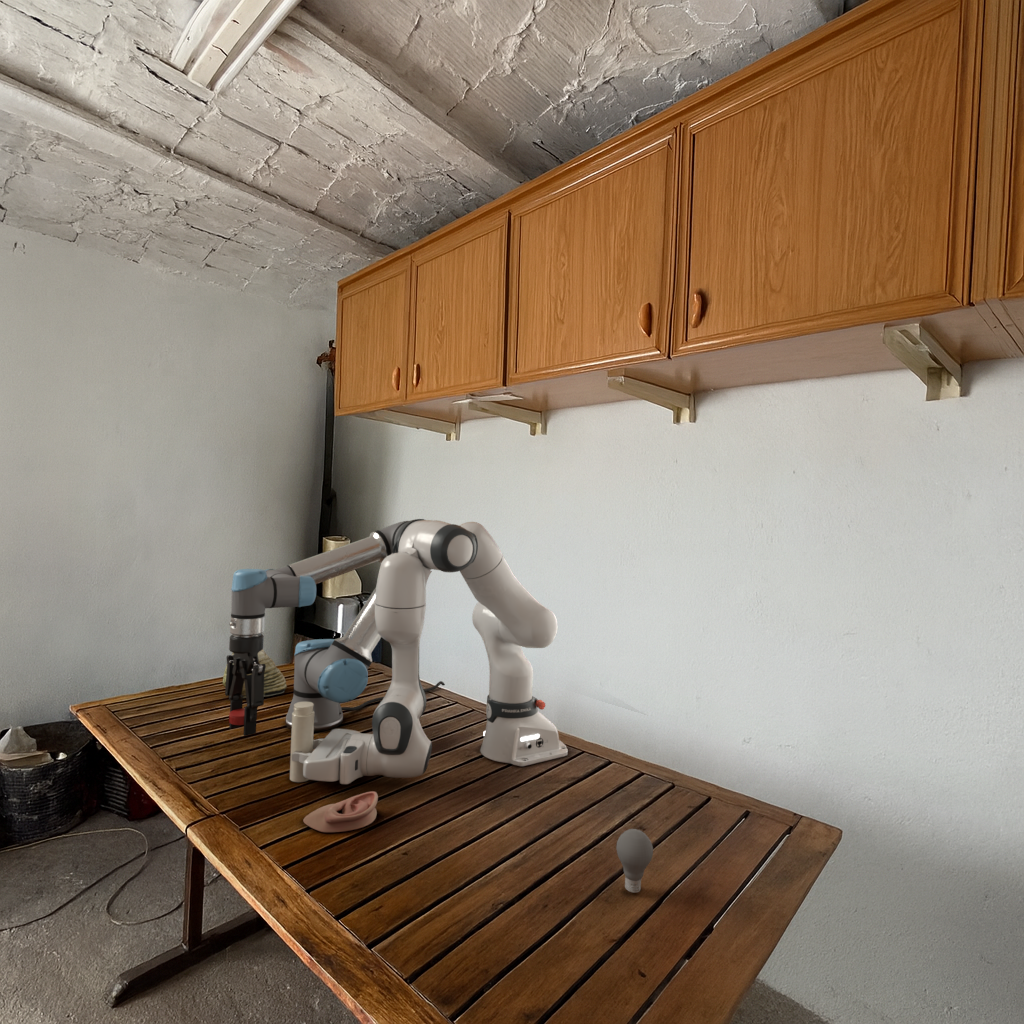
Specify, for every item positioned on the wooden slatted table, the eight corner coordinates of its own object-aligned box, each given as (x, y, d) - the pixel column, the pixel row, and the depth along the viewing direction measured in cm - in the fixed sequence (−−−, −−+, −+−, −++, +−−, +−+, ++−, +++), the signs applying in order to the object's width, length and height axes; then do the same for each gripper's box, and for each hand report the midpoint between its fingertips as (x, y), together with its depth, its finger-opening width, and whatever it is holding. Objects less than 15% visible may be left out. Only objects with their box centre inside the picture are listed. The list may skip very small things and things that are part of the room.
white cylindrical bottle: (291, 783, 139) (293, 708, 139) (288, 774, 143) (290, 702, 143) (313, 780, 141) (316, 706, 141) (310, 771, 146) (312, 700, 145)
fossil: (218, 695, 195) (220, 647, 195) (278, 685, 208) (279, 640, 207) (228, 703, 189) (230, 653, 188) (289, 692, 201) (290, 645, 201)
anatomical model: (295, 807, 120) (325, 781, 132) (294, 828, 121) (324, 800, 132) (360, 817, 118) (384, 790, 129) (359, 838, 118) (384, 809, 129)
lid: (261, 720, 153) (261, 711, 153) (240, 727, 147) (240, 718, 147) (244, 715, 155) (244, 706, 155) (223, 721, 150) (223, 713, 150)
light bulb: (610, 879, 108) (613, 822, 108) (644, 879, 109) (647, 822, 109) (619, 902, 102) (622, 840, 102) (655, 901, 103) (658, 840, 103)
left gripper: (212, 629, 154) (207, 724, 154) (253, 643, 142) (248, 745, 143) (241, 626, 160) (237, 717, 160) (283, 638, 148) (278, 737, 149)
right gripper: (371, 723, 152) (314, 720, 153) (345, 758, 132) (280, 754, 132) (370, 749, 152) (313, 746, 153) (344, 788, 132) (279, 784, 132)
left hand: (242, 730), depth 151 cm, fingers closed on lid, 6 cm apart
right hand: (297, 750), depth 142 cm, fingers closed on white cylindrical bottle, 5 cm apart
